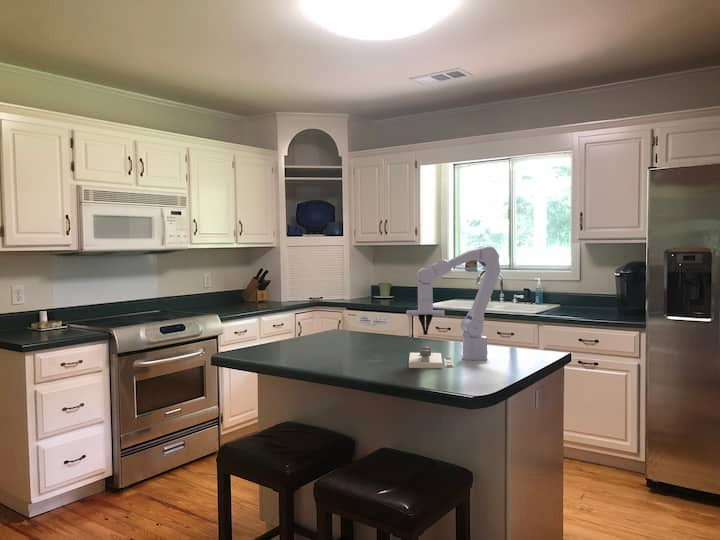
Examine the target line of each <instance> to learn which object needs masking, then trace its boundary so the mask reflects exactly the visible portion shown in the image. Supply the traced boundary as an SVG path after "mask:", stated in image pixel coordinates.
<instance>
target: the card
mask: <svg viewBox="0 0 720 540" xmlns="http://www.w3.org/2000/svg"><path fill="white" fill-rule="evenodd" d="M443 362H444V367H445V368H455V365H454V361H453V358H452V357H444V358H443Z"/></svg>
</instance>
